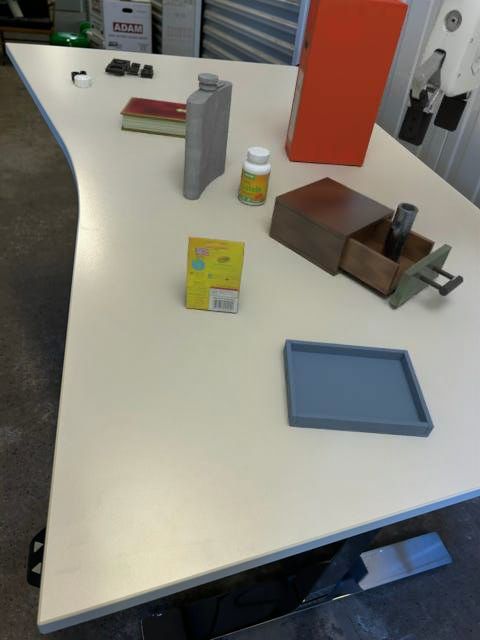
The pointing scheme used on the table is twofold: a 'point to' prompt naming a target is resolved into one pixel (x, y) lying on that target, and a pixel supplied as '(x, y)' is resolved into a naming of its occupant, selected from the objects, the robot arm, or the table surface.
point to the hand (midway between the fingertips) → (427, 134)
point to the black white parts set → (113, 71)
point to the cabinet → (323, 220)
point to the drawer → (387, 274)
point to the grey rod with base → (399, 231)
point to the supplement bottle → (255, 176)
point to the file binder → (342, 78)
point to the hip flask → (206, 133)
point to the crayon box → (214, 274)
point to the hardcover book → (154, 117)
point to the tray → (354, 389)
